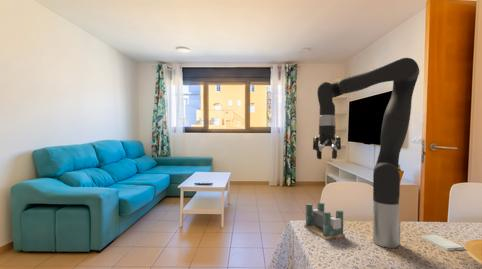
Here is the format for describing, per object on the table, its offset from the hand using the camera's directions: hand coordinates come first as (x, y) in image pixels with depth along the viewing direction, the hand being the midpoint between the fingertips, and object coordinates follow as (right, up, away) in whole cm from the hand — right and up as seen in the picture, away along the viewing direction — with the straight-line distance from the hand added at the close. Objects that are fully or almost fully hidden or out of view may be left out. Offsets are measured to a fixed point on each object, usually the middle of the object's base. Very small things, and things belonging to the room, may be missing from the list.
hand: (326, 158), depth 121 cm
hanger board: (-3, -33, -4) cm, 33 cm away
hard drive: (+42, -34, -16) cm, 56 cm away
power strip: (-3, -31, -4) cm, 31 cm away
